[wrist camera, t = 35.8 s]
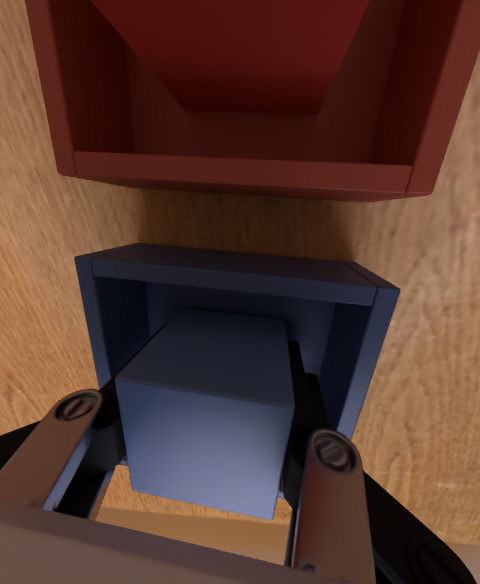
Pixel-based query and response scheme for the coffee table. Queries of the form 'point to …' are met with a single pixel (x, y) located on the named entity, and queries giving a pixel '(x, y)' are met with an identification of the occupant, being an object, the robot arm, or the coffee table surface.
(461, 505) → the coffee table surface
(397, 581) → the robot arm
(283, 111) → the red block
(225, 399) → the blue block
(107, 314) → the blue bin
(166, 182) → the red bin
